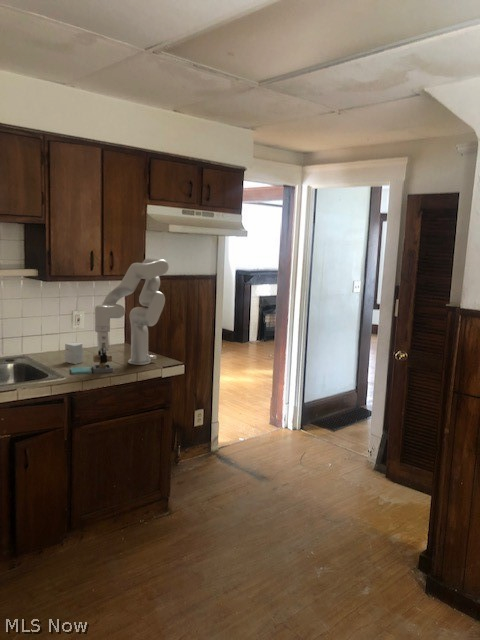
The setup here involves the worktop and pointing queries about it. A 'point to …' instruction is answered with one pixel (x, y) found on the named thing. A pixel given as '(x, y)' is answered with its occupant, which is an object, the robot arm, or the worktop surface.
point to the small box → (73, 353)
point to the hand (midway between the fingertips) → (102, 360)
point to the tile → (80, 370)
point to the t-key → (98, 359)
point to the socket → (102, 370)
